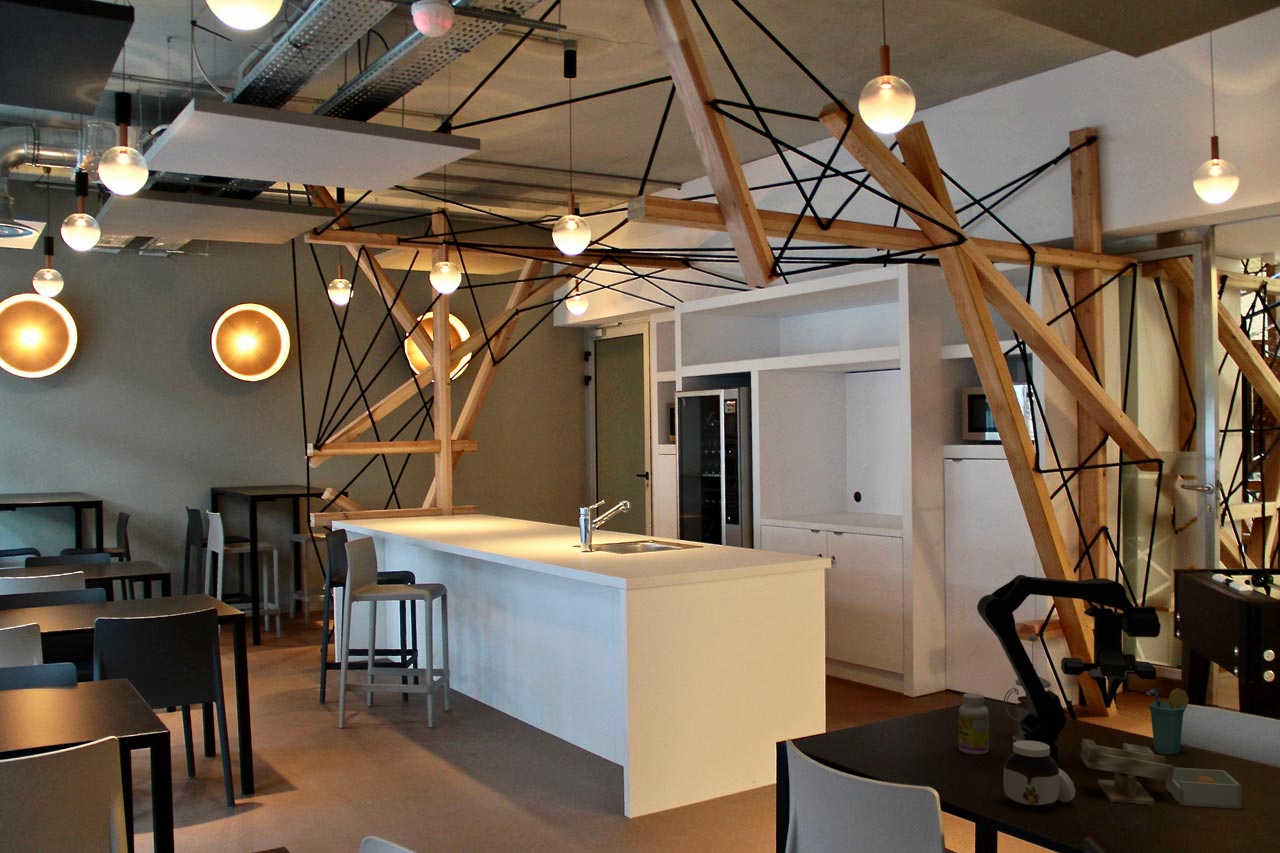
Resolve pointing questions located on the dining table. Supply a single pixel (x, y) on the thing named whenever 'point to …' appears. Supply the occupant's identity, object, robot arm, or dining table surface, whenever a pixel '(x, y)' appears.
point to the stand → (1126, 790)
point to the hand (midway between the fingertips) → (1107, 707)
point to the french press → (1022, 703)
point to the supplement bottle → (973, 725)
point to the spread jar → (1035, 777)
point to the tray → (1205, 788)
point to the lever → (1126, 760)
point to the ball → (1205, 779)
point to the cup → (1168, 721)
